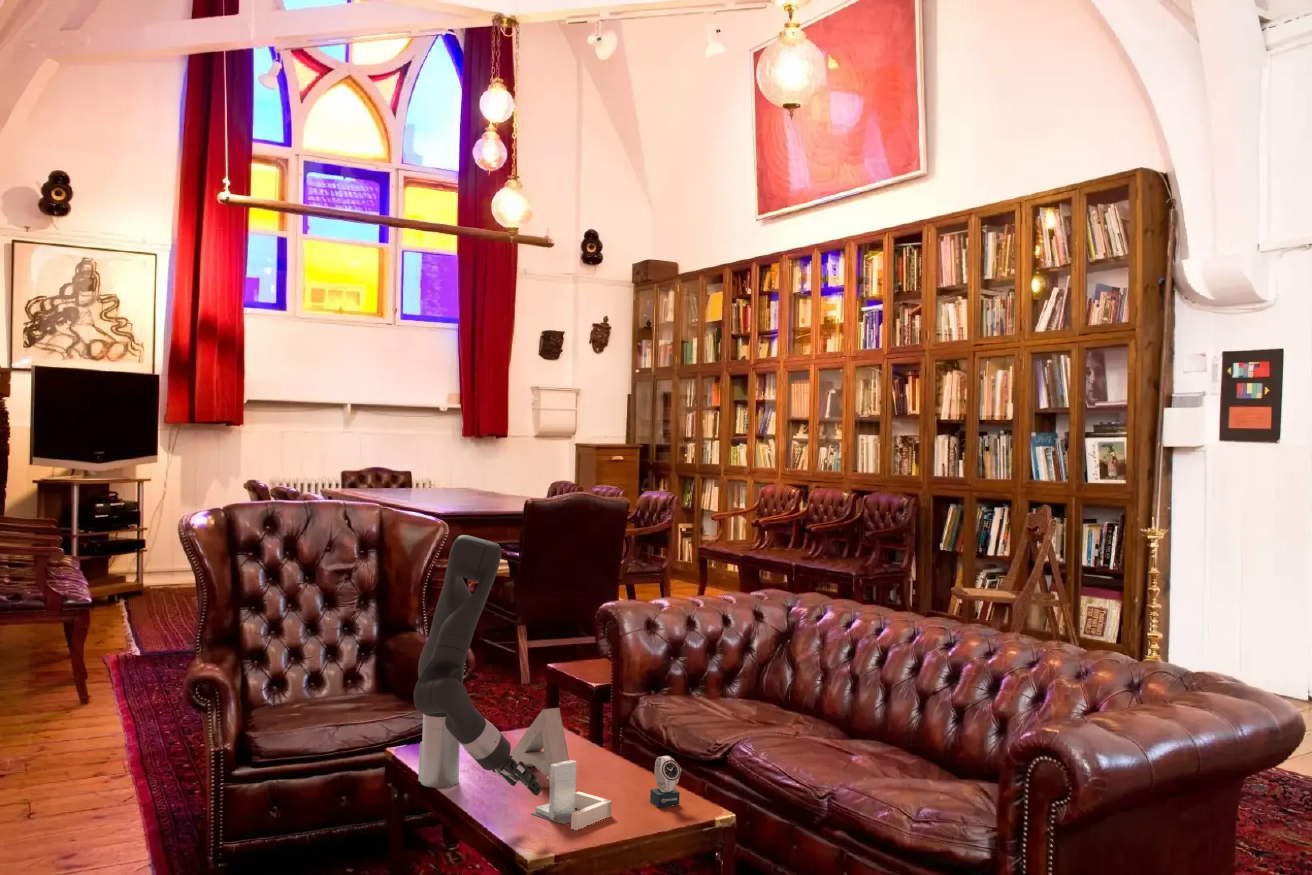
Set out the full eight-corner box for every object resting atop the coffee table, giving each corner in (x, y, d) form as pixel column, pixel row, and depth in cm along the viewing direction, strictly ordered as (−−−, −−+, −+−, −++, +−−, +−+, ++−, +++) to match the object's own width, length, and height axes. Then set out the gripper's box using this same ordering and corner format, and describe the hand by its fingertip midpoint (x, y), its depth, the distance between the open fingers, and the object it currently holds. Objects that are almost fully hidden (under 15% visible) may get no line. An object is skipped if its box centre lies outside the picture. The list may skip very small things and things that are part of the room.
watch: (661, 810, 233) (663, 763, 233) (647, 800, 240) (648, 753, 241) (683, 807, 235) (684, 760, 236) (667, 797, 243) (669, 751, 243)
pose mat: (531, 814, 228) (531, 813, 228) (555, 805, 235) (555, 804, 235) (564, 824, 222) (564, 823, 222) (587, 815, 229) (587, 814, 229)
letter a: (539, 835, 259) (575, 796, 238) (523, 837, 257) (558, 799, 236) (525, 751, 271) (559, 707, 250) (510, 753, 269) (542, 709, 248)
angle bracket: (535, 812, 229) (537, 759, 229) (556, 806, 233) (558, 754, 234) (553, 820, 224) (555, 766, 224) (574, 814, 228) (576, 761, 229)
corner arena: (542, 819, 225) (543, 804, 225) (578, 806, 234) (578, 791, 234) (576, 830, 219) (576, 814, 219) (611, 816, 228) (611, 800, 228)
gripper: (515, 735, 210) (557, 780, 217) (477, 721, 220) (518, 765, 228) (492, 765, 206) (536, 810, 213) (455, 750, 216) (498, 793, 224)
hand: (527, 786), depth 221 cm, fingers open, 8 cm apart
